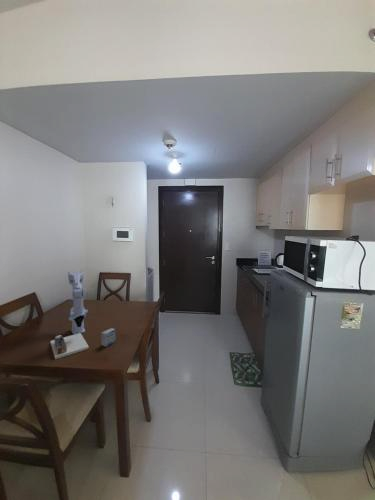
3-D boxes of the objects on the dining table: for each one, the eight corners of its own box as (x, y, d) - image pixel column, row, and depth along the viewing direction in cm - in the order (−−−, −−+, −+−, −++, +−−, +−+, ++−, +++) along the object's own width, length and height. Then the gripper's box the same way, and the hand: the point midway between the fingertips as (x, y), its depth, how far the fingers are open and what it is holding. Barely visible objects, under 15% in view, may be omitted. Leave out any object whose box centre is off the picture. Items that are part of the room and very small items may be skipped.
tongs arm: (55, 341, 138) (54, 336, 138) (62, 339, 141) (62, 334, 141) (58, 353, 125) (58, 347, 125) (66, 351, 128) (66, 345, 128)
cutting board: (50, 343, 140) (50, 340, 140) (80, 335, 151) (80, 332, 151) (55, 359, 123) (55, 356, 123) (88, 348, 134) (88, 346, 134)
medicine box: (106, 347, 136) (105, 334, 135) (101, 345, 138) (100, 332, 137) (115, 341, 143) (115, 329, 142) (111, 339, 145) (110, 327, 144)
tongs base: (53, 342, 138) (53, 337, 138) (62, 340, 141) (61, 335, 141) (57, 354, 125) (57, 349, 125) (66, 351, 128) (66, 346, 128)
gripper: (74, 311, 134) (75, 332, 135) (91, 304, 148) (91, 322, 149) (65, 310, 136) (66, 330, 137) (82, 302, 150) (83, 321, 151)
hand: (79, 326), depth 143 cm, fingers closed
